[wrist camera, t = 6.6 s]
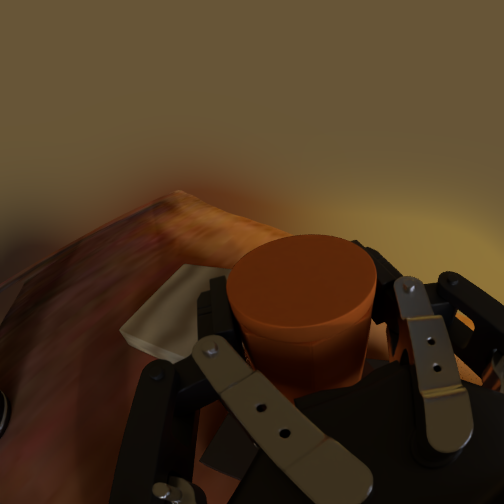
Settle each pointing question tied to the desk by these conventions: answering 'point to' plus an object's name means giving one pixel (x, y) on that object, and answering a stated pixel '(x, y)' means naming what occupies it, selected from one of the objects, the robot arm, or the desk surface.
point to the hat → (305, 311)
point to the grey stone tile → (171, 314)
